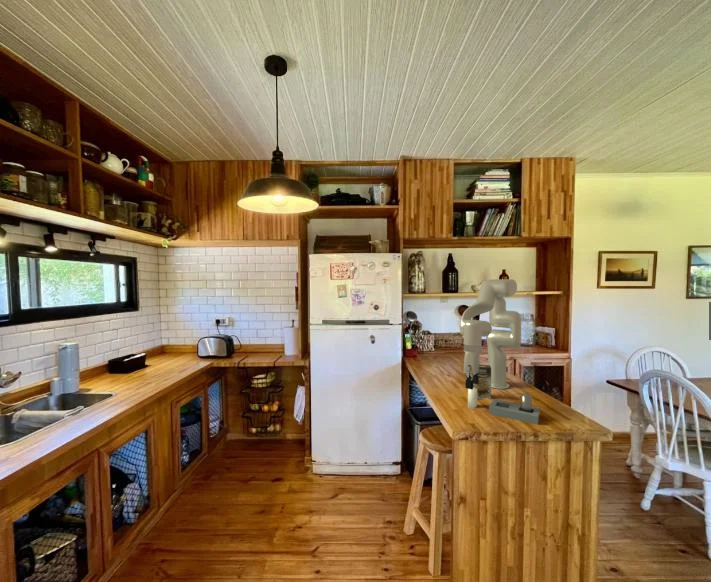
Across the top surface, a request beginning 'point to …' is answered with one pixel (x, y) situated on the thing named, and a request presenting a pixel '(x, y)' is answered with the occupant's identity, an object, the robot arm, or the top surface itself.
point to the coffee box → (484, 382)
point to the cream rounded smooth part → (472, 398)
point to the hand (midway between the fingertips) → (472, 386)
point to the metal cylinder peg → (526, 403)
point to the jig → (514, 411)
